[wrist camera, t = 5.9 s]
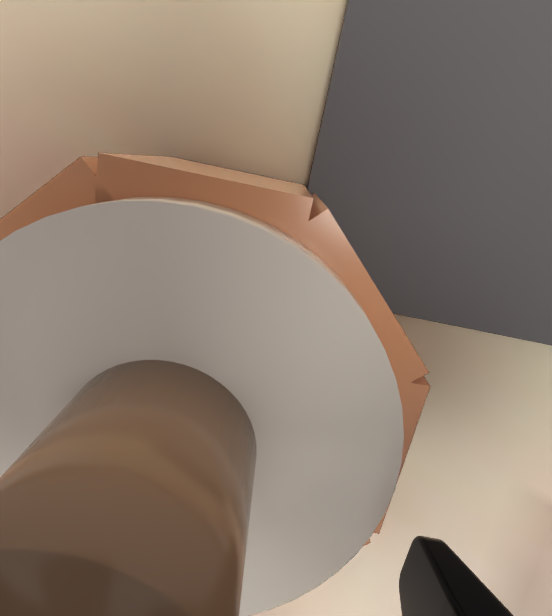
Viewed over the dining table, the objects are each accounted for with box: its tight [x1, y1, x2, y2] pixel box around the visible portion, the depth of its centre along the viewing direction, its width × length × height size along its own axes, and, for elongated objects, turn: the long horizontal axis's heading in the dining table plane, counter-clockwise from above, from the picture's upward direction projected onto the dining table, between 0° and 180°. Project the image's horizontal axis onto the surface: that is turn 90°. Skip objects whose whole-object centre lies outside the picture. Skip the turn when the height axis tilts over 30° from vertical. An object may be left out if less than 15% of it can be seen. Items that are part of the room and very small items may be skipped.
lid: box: [0, 197, 404, 616], centre depth 7 cm, size 9×9×5 cm
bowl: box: [0, 153, 430, 547], centre depth 12 cm, size 10×10×5 cm
